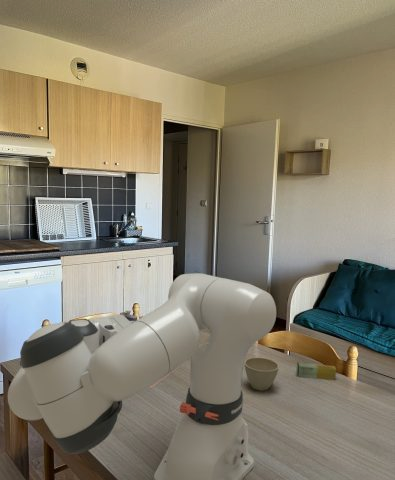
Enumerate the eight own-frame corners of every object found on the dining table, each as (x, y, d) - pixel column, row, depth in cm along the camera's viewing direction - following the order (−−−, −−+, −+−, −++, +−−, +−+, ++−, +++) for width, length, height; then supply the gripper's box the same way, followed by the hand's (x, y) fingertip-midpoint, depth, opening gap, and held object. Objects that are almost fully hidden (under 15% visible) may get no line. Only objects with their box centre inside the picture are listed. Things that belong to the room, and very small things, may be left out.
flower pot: (277, 397, 112) (278, 373, 111) (241, 392, 114) (243, 368, 113) (277, 381, 121) (278, 359, 121) (244, 377, 123) (246, 355, 123)
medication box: (296, 377, 125) (297, 365, 124) (295, 373, 128) (296, 361, 127) (335, 381, 124) (336, 369, 123) (333, 377, 126) (334, 365, 126)
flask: (138, 339, 153) (138, 312, 151) (132, 341, 150) (132, 313, 149) (122, 333, 158) (123, 307, 157) (117, 335, 156) (117, 308, 155)
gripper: (94, 331, 127) (135, 326, 133) (111, 354, 109) (158, 347, 115) (94, 312, 126) (135, 308, 133) (111, 332, 108) (158, 326, 115)
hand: (146, 326), depth 124 cm, fingers closed on cover, 3 cm apart
